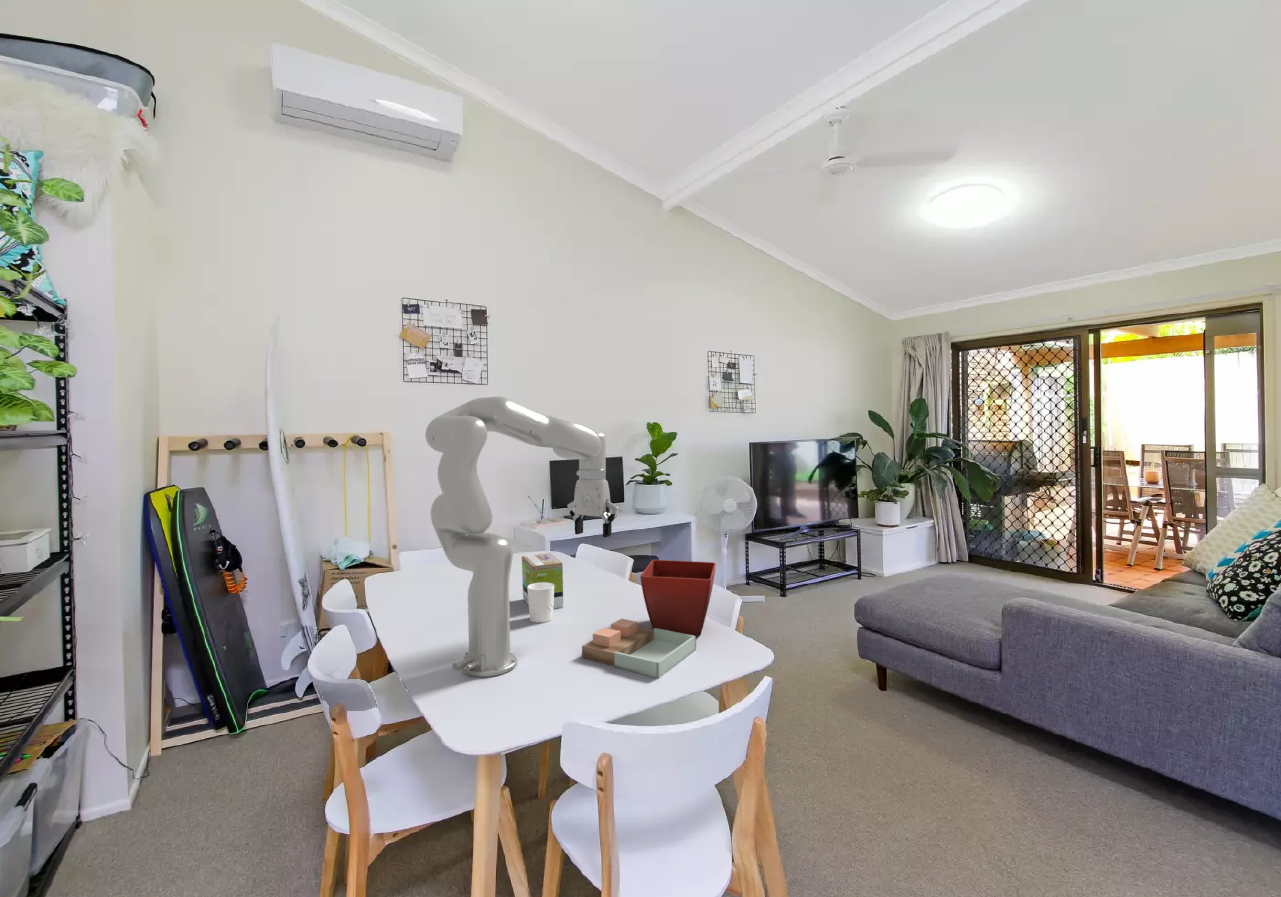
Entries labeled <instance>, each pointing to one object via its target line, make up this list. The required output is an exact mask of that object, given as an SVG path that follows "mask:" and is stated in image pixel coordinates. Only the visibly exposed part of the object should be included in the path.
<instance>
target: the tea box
mask: <svg viewBox="0 0 1281 897" xmlns="http://www.w3.org/2000/svg"><path fill="white" fill-rule="evenodd" d="M521 570H522V572H521V573H522V575H521V576H522V598H523V600H524V601H525V602H526V604H527V605H528V606H529V604H528V590H527V586H528V585H530V584H534V583H541V582H546V583H552V584H554V606H553V610H556V609H559V608H560V609H561V608H564V575H563V574H564V572H563V571H564V570H563V561H561V560H559V559H558V558H557V557H555V556H554V555H552V554H551V553H547V552H546V553H539V554H532V555H522V556H521Z"/></svg>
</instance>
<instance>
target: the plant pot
mask: <svg viewBox="0 0 1281 897" xmlns="http://www.w3.org/2000/svg"><path fill="white" fill-rule="evenodd" d="M716 565H717V564H716V562H713V561H712V562H711V561H710V562H709V561H690V560H688V561H687V560H669V559H668V560H667V559H666V560H663V559H652V560H651V561H650V562H649V564H648V565H647V566H646V568H645V569H644V570H643V571H642V573H641V574H640V583H641V589H642V595H643V600H644V603H645V608H646V612H647V615H648V618H649V621H650V625H651V628H652V630H654V628H658V629H663V630H668V631H673V632H678V633H683V634H688V635H693V636H696V637H698V636H700V635H701V634H702V631H703V629H704V624H705V622H706V616H707V614H708V609H709V606H710V600H711V596H712V591H713V586H714V581H715V573H716Z"/></svg>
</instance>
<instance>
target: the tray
mask: <svg viewBox="0 0 1281 897" xmlns="http://www.w3.org/2000/svg"><path fill="white" fill-rule="evenodd" d="M695 651H697V636H693V635H688V634H683V633H678V632H673V631H668V630H663V629H658V628H654V640H652V641H651V642H649V643H648V644H646V645H645V646H643V647H641V648H640V649H638V650H637V651H635V652H634V653H632V654H630V655H628V654H624V653H619V652H614V662H615V666H614V668H616V669H620V670H625V671H628V672H631V673H636V674H641V675H645V676H648V677H652V678H656V679H660V678H661V677H663V676H664V675H665V674H666V673H668V672H669V671H671V670H672V669H673V668H675V666H677V665H678V664H680V663H681V662H682V661H684V660H685V659H687V657H688V656H690V655H691V654H693V653H694V652H695Z"/></svg>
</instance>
